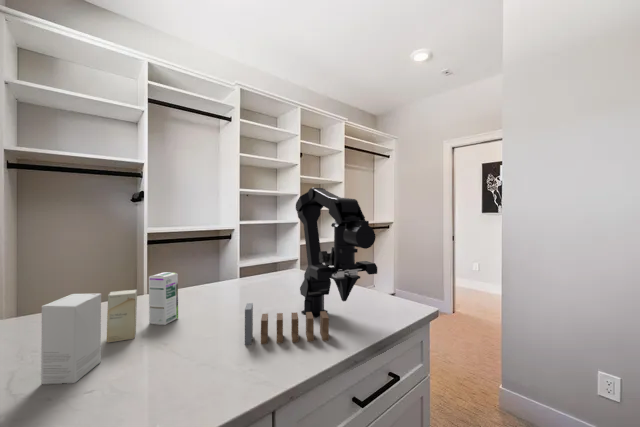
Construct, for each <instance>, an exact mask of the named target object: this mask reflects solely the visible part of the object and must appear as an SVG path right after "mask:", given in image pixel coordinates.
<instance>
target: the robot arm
mask: <svg viewBox="0 0 640 427" xmlns="http://www.w3.org/2000/svg"><path fill="white" fill-rule="evenodd" d="M323 208H326V209H327V210H328V214H329V216H331V217H332V218H333V220H334V221H333V222H332V223H331V227H332V228H333V230H334V233H333V234H334V235H333V246H332V247H331V249H330V250H331V252H329V253H328V251H327V250H322V251H321V241H320V233H319V225H318V221H319V218H320V217H321V214H322V213H321V212H322V211H321V210H322V209H323ZM295 211H296V212H297V217H298V219H299V220H300V222H301V223H302V224H303V231H304V242H305V248H306V251H305V252H306V260H307V267H306V269H305V272H304V278H303V281H302V283H301V284H300V287H299V290H300V291H299V292H300V295H301V296H303V297H304V301H303V302H304V305H303V307H304V310H301V314H304V315H306V312H312V315H313V318H317V317H320V312H321V311H326V313H327V314H328V310H326V309H325V296H326V295H327V296H328V295H329V294H330V291H331V290H330V289H331V285H332V282H331V279H332V280H333V281H334V283H335V285H336V287H337V290H338V293H339V296H340V298H341V299H340V300H341V301H342V302H346V301H347V300H348V298H349V296H350V294H351V292H352V290H353V288H354V286H355V284H356V282H357V281H358V280H359V279H361V276H360V275H359V274H358V272H366V274H367V275H378V266H377V263H374V262H373V261H372V262H370V261H368V260H362V261H356V260H355V258H356V253H358V248H361V249H364V250H367V249H369V248H371V247H373V245H374V244H375V242H376V233H375V230H374V229H373V227H371V226H370V225H369V224H370V222H369V220H366V219H365V218H366V216H365V215H364V213H363V211H362V208H361V206H360V204H359V201H358V200H357V199H355V198H349V197H348V198H347V197H340V196H338V195H336V194H334V193H331V191H328V190H326V189H325V188H323V187H311V188H309V190H308V191H307V192H304V193H303V194H301V195H300V196H299V197H298V199H297V200H296V203H295Z"/></svg>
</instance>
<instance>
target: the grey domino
mask: <svg viewBox="0 0 640 427" xmlns="http://www.w3.org/2000/svg"><path fill="white" fill-rule="evenodd" d="M253 306H254V303H253V302H247V303H246V304H245V308H244V346H246V345H247V346H248V345H252V341H253V330H254V322H253V321H254V319H253V318H254V317H253V316H254V313H253V312H254V310H253V309H254V307H253Z"/></svg>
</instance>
